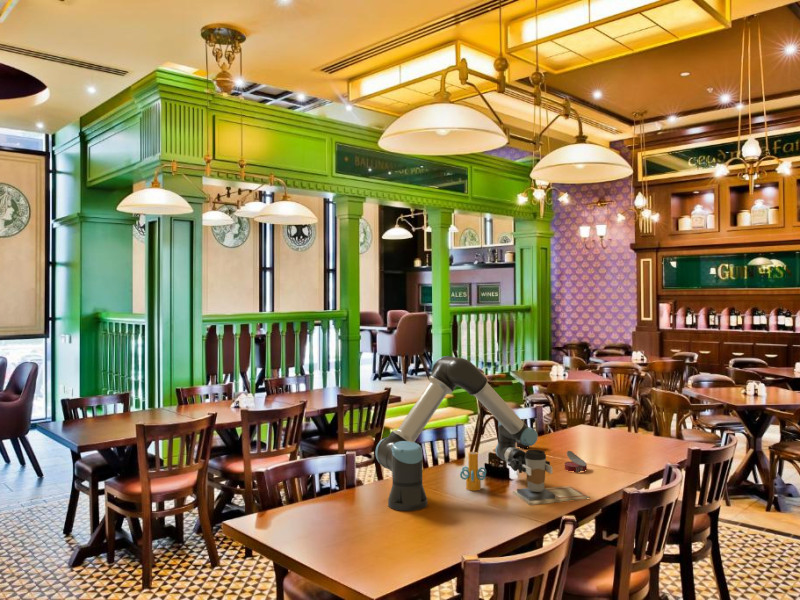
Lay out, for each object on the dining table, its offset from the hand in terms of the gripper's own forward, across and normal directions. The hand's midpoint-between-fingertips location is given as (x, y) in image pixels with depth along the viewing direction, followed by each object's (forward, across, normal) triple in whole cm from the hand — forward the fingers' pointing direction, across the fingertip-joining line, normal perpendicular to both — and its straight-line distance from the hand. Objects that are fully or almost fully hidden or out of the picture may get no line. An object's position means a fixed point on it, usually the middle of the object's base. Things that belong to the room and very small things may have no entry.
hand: (541, 471), depth 251 cm
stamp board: (-5, -6, -12) cm, 14 cm away
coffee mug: (-85, -33, -12) cm, 92 cm away
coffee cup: (-5, 0, -9) cm, 10 cm away
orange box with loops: (-23, +20, -12) cm, 32 cm away
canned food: (-38, -36, -12) cm, 54 cm away
